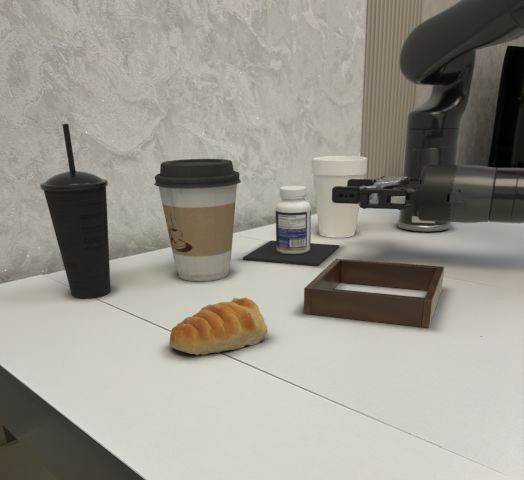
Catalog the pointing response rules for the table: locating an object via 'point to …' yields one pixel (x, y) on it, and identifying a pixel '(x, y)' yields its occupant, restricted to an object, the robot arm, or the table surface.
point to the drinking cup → (80, 226)
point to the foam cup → (325, 179)
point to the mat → (310, 258)
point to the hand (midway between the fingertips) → (340, 190)
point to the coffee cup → (199, 215)
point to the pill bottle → (293, 221)
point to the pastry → (220, 328)
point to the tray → (375, 304)
